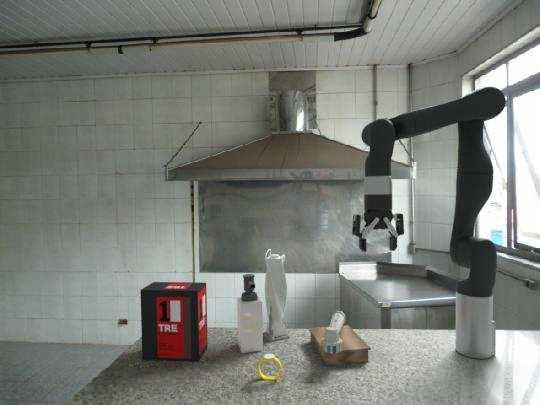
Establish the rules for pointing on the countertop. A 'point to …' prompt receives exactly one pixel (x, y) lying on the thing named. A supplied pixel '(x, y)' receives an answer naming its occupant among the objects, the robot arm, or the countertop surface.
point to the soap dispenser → (249, 318)
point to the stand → (350, 347)
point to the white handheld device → (334, 333)
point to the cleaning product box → (174, 321)
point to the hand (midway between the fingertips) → (378, 251)
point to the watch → (269, 358)
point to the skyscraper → (275, 297)
